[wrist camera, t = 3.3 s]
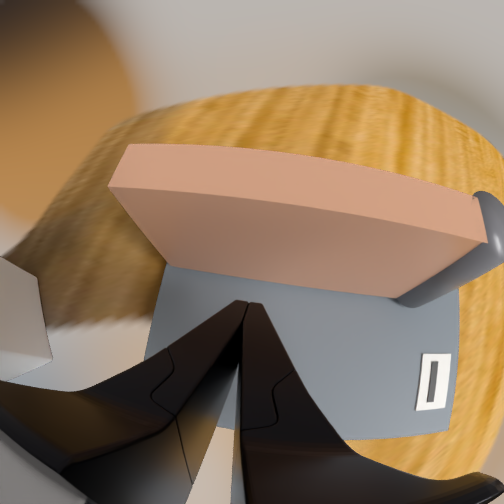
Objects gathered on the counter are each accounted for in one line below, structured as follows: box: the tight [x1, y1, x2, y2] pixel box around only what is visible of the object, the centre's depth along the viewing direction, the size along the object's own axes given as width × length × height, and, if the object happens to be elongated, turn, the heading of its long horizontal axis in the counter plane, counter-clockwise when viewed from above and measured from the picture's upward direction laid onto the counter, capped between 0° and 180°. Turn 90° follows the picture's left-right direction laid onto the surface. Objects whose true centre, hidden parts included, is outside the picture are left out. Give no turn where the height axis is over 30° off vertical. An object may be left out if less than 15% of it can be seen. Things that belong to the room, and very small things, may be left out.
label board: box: [144, 262, 459, 440], centre depth 16 cm, size 15×20×1 cm
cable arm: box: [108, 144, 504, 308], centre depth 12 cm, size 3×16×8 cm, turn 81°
